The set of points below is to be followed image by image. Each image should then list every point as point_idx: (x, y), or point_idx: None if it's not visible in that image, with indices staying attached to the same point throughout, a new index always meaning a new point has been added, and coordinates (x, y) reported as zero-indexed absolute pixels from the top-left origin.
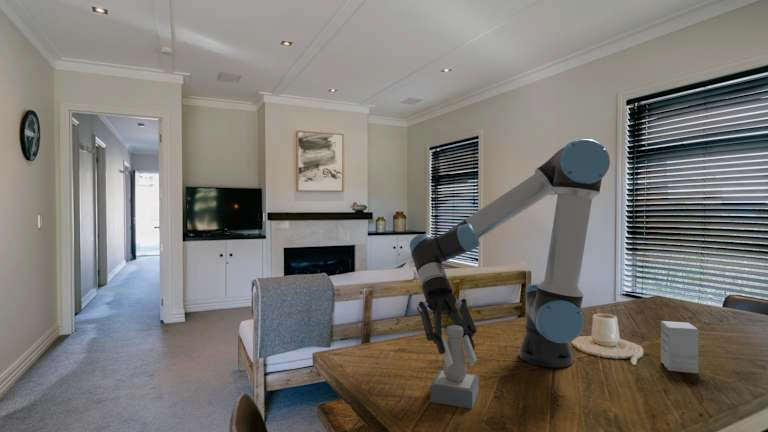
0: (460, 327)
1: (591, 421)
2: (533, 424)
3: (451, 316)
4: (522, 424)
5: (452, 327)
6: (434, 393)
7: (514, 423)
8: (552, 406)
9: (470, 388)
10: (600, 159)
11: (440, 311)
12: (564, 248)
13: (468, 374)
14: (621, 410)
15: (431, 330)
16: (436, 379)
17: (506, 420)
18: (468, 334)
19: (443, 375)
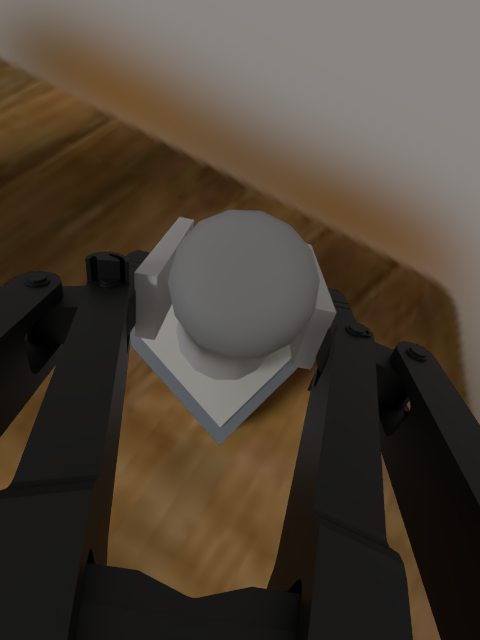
0: (212, 232)
1: (8, 80)
2: (145, 136)
3: (105, 522)
4: (169, 148)
5: (283, 260)
6: None
7: (182, 160)
8: (20, 169)
9: None
10: None
11: (337, 537)
12: None
13: (152, 346)
14: None
15: (423, 371)
16: (280, 371)
17: (189, 178)
18: (124, 274)
19: (243, 382)
